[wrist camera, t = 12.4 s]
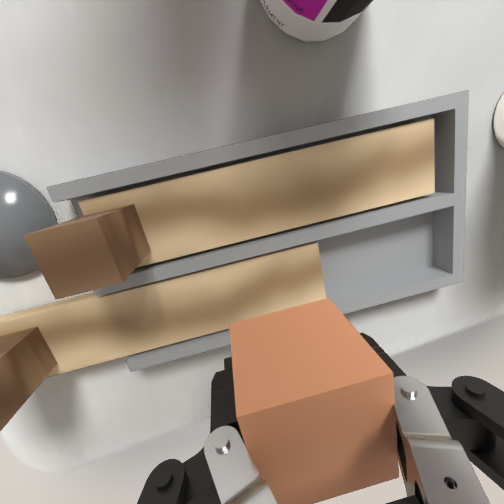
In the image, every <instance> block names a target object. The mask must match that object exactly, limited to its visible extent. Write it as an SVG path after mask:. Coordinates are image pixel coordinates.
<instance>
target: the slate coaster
mask: <svg viewBox="0 0 504 504" xmlns="http://www.w3.org/2000/svg"><path fill="white" fill-rule="evenodd" d="M54 225H57V219H56V217H55V214H54V212H53V210H52V208H51V206H50V204H49V203H48V202H47V200H46V199H45V198H44V197H43V195H42V194H41V193H40V192H39V191H38V190H37V189H36V188H34V187H33V186H32V185H30V184H29V183H28V182H26V181H25V180H23V179H21V178H19V177H17V176H15V175H13V174H10V173H7V172H4V171H0V278H10V277H18V276H22V275H25V274H28V273H30V272H32V271H34V270H36V269H38V268H39V266H38V264H37V262H36V260H35V258H34V256H33V254H32V252H31V250H30V248H29V246H28V244H27V242H26V240H25V239H24V237H23V235H26V234H29V233H32V232H35V231H38V230H41V229H44V228H48V227H51V226H54Z"/></svg>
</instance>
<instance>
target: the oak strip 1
mask: <svg viewBox="0 0 504 504" xmlns="http://www.w3.org/2000/svg"><path fill="white" fill-rule="evenodd" d="M432 193H435V159H434V118H432V119H428V120H423V121H419V122H415V123H411V124H406V125H402V126H398V127H394V128H389V129H385V130H381V131H377V132H372V133H368V134H364V135H360V136H355V137H351V138H347V139H343V140H338V141H334V142H330V143H326V144H321V145H317V146H313V147H308V148H304V149H300V150H296V151H291V152H287V153H283V154H279V155H274V156H270V157H266V158H262V159H257V160H253V161H249V162H245V163H240V164H236V165H232V166H228V167H223V168H219V169H215V170H211V171H206V172H202V173H198V174H194V175H189V176H185V177H181V178H176V179H172V180H168V181H164V182H159V183H155V184H151V185H147V186H142V187H138V188H134V189H130V190H125V191H121V192H117V193H113V194H108V195H104V196H100V197H96V198H91V199H87V200H83V201H79V202H78V203H79V205H80V208H81V210H82V212H83V215H84V216H82V217H79V218H76V219H73V220H70V221H66V222H63V223H60V224H57V225H54V226H51V227H48V228H44V229H41V230H38V231H35V232H32V233H29V234H26V235H23V237H24V239H25V240H26V242H27V244H28V246H29V248H30V250H31V252H32V254H33V256H34V258H35V260H36V262H37V264H38V266H39V268H40V270H41V272H42V274H43V276H44V278H45V280H46V281H47V283H48V285H49V287H50V289H51V291H52V293H53V295H54V297H55V299H60V298H64V297H68V296H72V295H76V294H80V293H84V292H88V291H92V290H96V289H99V288H103V287H107V286H111V285H115V284H119V283H123V282H124V281H125V280H126V279H127V278H128V276H129V275H130V274H131V273H132V272H133V271H134V269H135V268H137V267H141V266H145V265H149V264H153V263H157V262H161V261H165V260H169V259H173V258H177V257H181V256H185V255H189V254H193V253H197V252H201V251H205V250H209V249H213V248H217V247H221V246H225V245H229V244H233V243H237V242H241V241H245V240H249V239H253V238H257V237H261V236H265V235H268V234H272V233H276V232H280V231H284V230H288V229H292V228H296V227H300V226H304V225H308V224H312V223H316V222H320V221H324V220H328V219H332V218H336V217H340V216H344V215H348V214H352V213H356V212H360V211H364V210H368V209H372V208H376V207H380V206H384V205H388V204H392V203H396V202H400V201H404V200H408V199H412V198H416V197H420V196H424V195H428V194H432Z"/></svg>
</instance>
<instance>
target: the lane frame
mask: <svg viewBox="0 0 504 504" xmlns="http://www.w3.org/2000/svg"><path fill="white" fill-rule="evenodd" d="M468 103H469V90H466V91H462V92H457V93H453V94H448V95H444V96H440V97H435V98H431V99H427V100H422V101H418V102H414V103H409V104H405V105H401V106H396V107H392V108H388V109H383V110H379V111H375V112H370V113H366V114H362V115H357V116H353V117H349V118H344V119H340V120H336V121H331V122H327V123H323V124H318V125H314V126H310V127H305V128H301V129H297V130H292V131H288V132H284V133H279V134H275V135H271V136H266V137H262V138H258V139H253V140H249V141H245V142H240V143H236V144H232V145H227V146H223V147H219V148H214V149H210V150H206V151H201V152H197V153H193V154H188V155H184V156H180V157H175V158H171V159H167V160H162V161H158V162H154V163H149V164H145V165H141V166H136V167H132V168H128V169H123V170H119V171H115V172H110V173H106V174H101V175H97V176H93V177H88V178H84V179H80V180H75V181H71V182H67V183H62V184H58V185H54V186H49V187H46V188H47V190H48V192H49V194H50V197H51V199H52V201H53V202H58V201H64V200H70V199H71V201H72V203H73V205H74V208H75V210H76V212H77V215H78V217H82V216H84V215H83V212H82V210H81V208H80V205H79V203H78V202H79V201H83V200H87V199H91V198H96V197H100V196H104V195H108V194H113V193H117V192H121V191H125V190H130V189H134V188H138V187H142V186H147V185H151V184H155V183H159V182H164V181H168V180H172V179H176V178H181V177H185V176H189V175H194V174H198V173H202V172H206V171H211V170H215V169H219V168H223V167H228V166H232V165H236V164H240V163H245V162H249V161H253V160H257V159H262V158H266V157H270V156H274V155H279V154H283V153H287V152H291V151H296V150H300V149H304V148H308V147H313V146H317V145H321V144H326V143H330V142H334V141H338V140H343V139H347V138H351V137H355V136H360V135H364V134H368V133H372V132H377V131H381V130H385V129H389V128H394V127H398V126H402V125H406V124H411V123H415V122H419V121H423V120H428V119H432V118H434V159H435V193H432V194H428V195H424V196H420V197H416V198H412V199H408V200H404V201H400V202H396V203H392V204H388V205H384V206H380V207H376V208H372V209H368V210H364V211H360V212H356V213H352V214H348V215H344V216H340V217H336V218H332V219H328V220H324V221H320V222H316V223H312V224H308V225H304V226H300V227H296V228H292V229H288V230H284V231H280V232H276V233H272V234H268V235H265V236H261V237H257V238H253V239H249V240H245V241H241V242H237V243H233V244H229V245H225V246H221V247H217V248H213V249H209V250H205V251H201V252H197V253H193V254H189V255H185V256H181V257H177V258H173V259H169V260H165V261H161V262H157V263H153V264H149V265H145V266H141V267H137V268H135V269H134V271H133V272H132V273H131V274H130V275H129V276H128V278H127V279H126V280H125V281H124V282H123V283H119V284H115V285H111V286H107V287H103V288H99V289H96V290H93V291H94V293H95V295H96V297H97V296H100V295H104V294H108V293H112V292H116V291H120V290H124V289H128V288H132V287H136V286H140V285H144V284H148V283H152V282H156V281H159V280H163V279H167V278H171V277H175V276H179V275H183V274H187V273H191V272H195V271H199V270H203V269H207V268H211V267H214V266H218V265H222V264H226V263H230V262H234V261H238V260H242V259H246V258H250V257H254V256H258V255H262V254H266V253H270V252H273V251H277V250H281V249H285V248H289V247H293V246H297V245H301V244H305V243H309V242H313V241H317V242H318V247H319V254H320V260H321V267H322V273H323V280H324V287H325V293H326V298H329V299H330V300H331V301H332V302H333V303H334V305H335V306H336V307H337V308H338V309H339V310H340V312H341V313H342V314H346V313H350V312H354V311H357V310H361V309H365V308H368V307H372V306H376V305H379V304H383V303H387V302H390V301H394V300H398V299H402V298H405V297H409V296H413V295H416V294H420V293H424V292H427V291H431V290H435V289H438V288H442V287H446V286H449V285H453V284H457V283H461V282H463V270H464V237H465V203H466V170H467V136H468ZM228 345H231V342H230V330H229V329H226V330H222V331H218V332H214V333H211V334H207V335H203V336H199V337H196V338H192V339H188V340H184V341H181V342H177V343H173V344H170V345H166V346H162V347H158V348H155V349H151V350H147V351H143V352H140V353H136V354H132V355H129V357H128V359H127V361H126V363H127V365H128V368H129V370H130V372H132V371H136V370H140V369H143V368H147V367H151V366H154V365H158V364H162V363H165V362H169V361H173V360H176V359H180V358H184V357H188V356H191V355H195V354H199V353H202V352H206V351H210V350H213V349H217V348H221V347H224V346H228Z"/></svg>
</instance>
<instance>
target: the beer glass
mask: <svg viewBox="0 0 504 504" xmlns="http://www.w3.org/2000/svg"><path fill="white" fill-rule="evenodd" d="M493 128H494V133H495V137H496V139H497V141H498V142H499V144H500V145H501V146H502V147H503V148H504V93H503V94H502V96H501V98H500V100H499V102H498V104H497V107H496V110H495V113H494V120H493Z"/></svg>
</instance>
